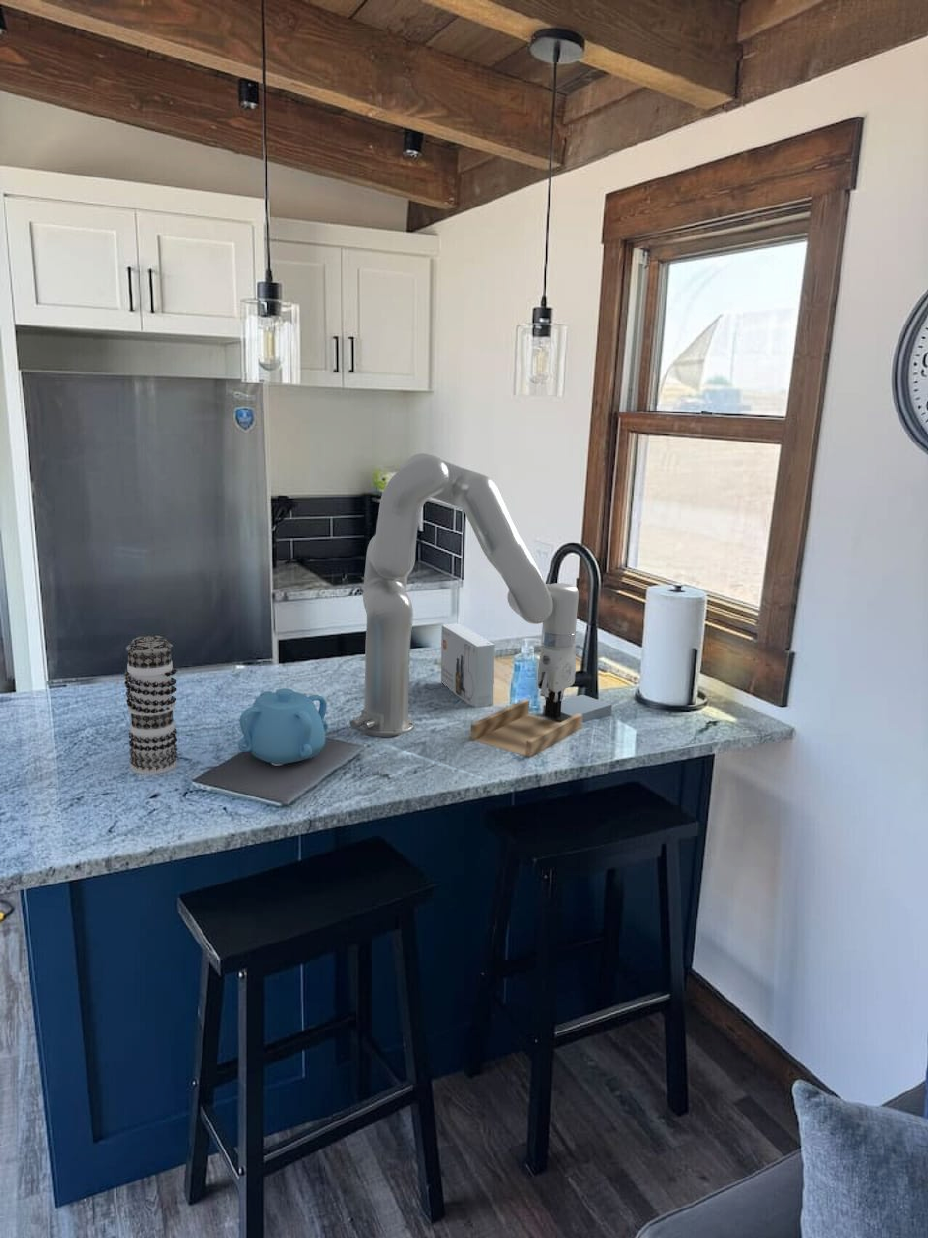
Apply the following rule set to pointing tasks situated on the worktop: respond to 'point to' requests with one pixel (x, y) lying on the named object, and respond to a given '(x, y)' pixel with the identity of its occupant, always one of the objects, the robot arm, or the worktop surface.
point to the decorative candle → (151, 705)
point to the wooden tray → (522, 730)
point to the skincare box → (467, 664)
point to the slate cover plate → (583, 708)
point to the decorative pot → (283, 727)
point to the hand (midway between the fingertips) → (552, 716)
